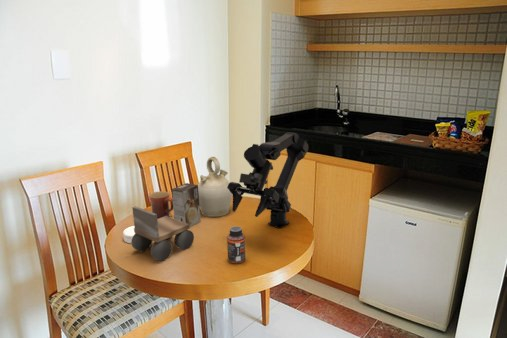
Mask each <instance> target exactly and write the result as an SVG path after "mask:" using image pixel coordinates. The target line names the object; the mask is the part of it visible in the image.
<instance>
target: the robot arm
mask: <svg viewBox="0 0 507 338" xmlns="http://www.w3.org/2000/svg"><path fill="white" fill-rule="evenodd" d="M284 150H286V151H285V152H286V154H287V156H286V157H287V158H286V160H285V162H284V164H283V167H282V169H281V172H280V173H279V176H278V179H277V181H276V184H275V186H271V185H270V186H269V187H265V185H268V180H267V179H268V177H269V174H270V172H271V171H272V170H274V166H273V162H270V161H269V160H271V161H277V160H278V159H279V157H280V156H281V152H282V151H284ZM308 151H309V144H308V142H307V141H306V140H305V139H304V138H302V137H301V136H299V134H298V133H295V132H285V133H284V134H283V135H282V136H280V137H278V138H276V139H274V140H273V141H270V142H269V141H268V142H267V141H266V142H262V143H260V144H257V143H253V144H252V146H250V147H248V148H247V149H246V150H244V153H243V158H244V159H245V160H246V162H247V163H248V164H249V165H250V167H251V168H252V169H253V170H252V171H251V172H249V173H248V174H247V173H240V177H239V182H234V181H231V182H230V181H229V184H228V187H227V188H228V189H229V191H230V192H231V193H232V212H233V213H235V212H236V211H237V209H238V207H239V205H240V204H241V201H242V199H243V195H244V194H248V195H253V196H259V197H260V200H259V203H258V206H257V209H256V211H255V213H254V216H255V218H257V217H259V215H261V214H262V213H263V212H264V211H265V210H267V211H268V210H269V211H270V216H269V217H270V219H269V220H270V221H269V222H267V224H268V225H269V226H272V227H275V228H278V229H282V228H283V227H285V226H287V225H288V224H290V221H288V220H287V213H289V212H290V211H291V209H292V208H291V207H292V204H291V202H290V201H289V196H288V189H289V186H290V184H291V181H292V178H293V176H294V173H295V171H296V168H297V166H298V164H299V162H300V161H302V160H303V159H304V158H305V157H306V154H307V153H308ZM241 183H242V184H243V186H245V187H243V186H242V184H241Z"/></svg>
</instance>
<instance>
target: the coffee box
mask: <svg viewBox="0 0 507 338" xmlns="http://www.w3.org/2000/svg"><path fill="white" fill-rule="evenodd" d="M171 195H172V198H171V199H173V216H174V217H173V218H174V219H176V220H179V221H182V222H185V223H187V224H189V226H190V228H191V227H193V226H194V225H196V224H198V223H200V222H201V208H200V205H199V193H198V184H194V183H187V182H186V183H183V184H180V185H179V186H176V187H174V188H172V189H171Z"/></svg>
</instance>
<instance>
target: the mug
mask: <svg viewBox="0 0 507 338" xmlns="http://www.w3.org/2000/svg"><path fill="white" fill-rule="evenodd" d="M148 198H149V201H150V204H151V206H150V207H151V212H152V213H155V214H157V219H159V218H162V217H164V216H168V217H170V213H171V212H172V211H174V209H173V198H171V197H170V192H168V191H164V190H163V191H154V192H152V193H150V194H148ZM169 203H170V204H169Z"/></svg>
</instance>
